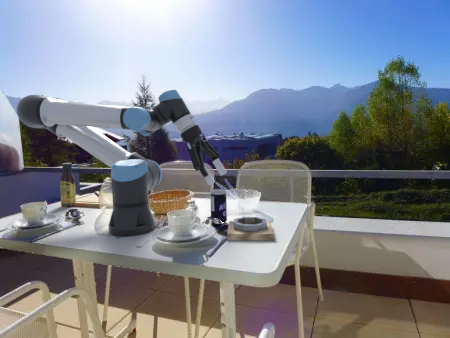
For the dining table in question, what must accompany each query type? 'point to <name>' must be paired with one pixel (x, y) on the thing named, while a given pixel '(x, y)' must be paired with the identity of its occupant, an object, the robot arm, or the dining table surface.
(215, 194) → the beverage can
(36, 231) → the dining table surface
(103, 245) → the dining table surface
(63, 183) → the sauce bottle
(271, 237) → the oak board
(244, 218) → the collar
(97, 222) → the dining table surface
